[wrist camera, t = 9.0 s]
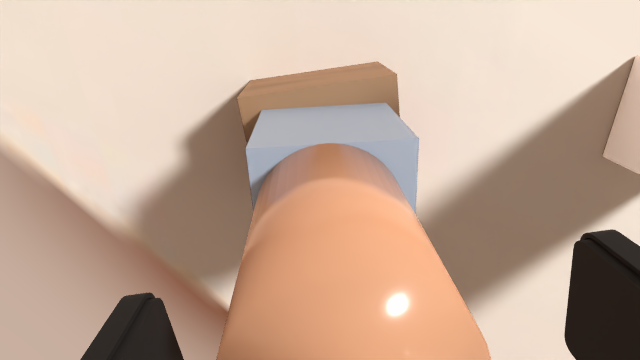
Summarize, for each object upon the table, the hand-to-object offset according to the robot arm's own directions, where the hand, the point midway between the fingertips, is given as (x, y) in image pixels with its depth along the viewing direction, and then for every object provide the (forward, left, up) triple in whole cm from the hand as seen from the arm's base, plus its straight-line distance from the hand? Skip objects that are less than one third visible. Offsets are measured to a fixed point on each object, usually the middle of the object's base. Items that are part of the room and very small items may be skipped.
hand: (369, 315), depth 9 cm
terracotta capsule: (0, +1, -5) cm, 5 cm away
